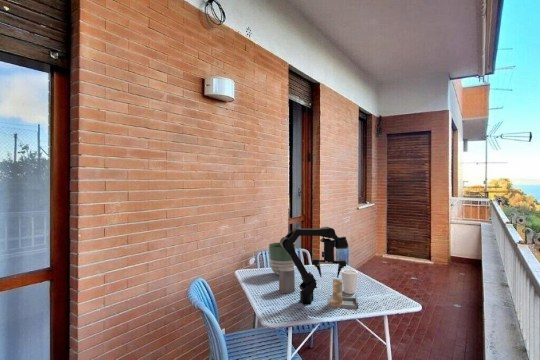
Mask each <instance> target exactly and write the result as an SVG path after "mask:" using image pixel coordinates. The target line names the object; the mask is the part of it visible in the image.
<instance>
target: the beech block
mask: <svg viewBox="0 0 540 360" xmlns="http://www.w3.org/2000/svg"><path fill="white" fill-rule="evenodd" d="M342 297H343V280H342V279H341V278H340V279H339V278H337V279H336V278H333V279H332V299H333V304H336V305H341V304H342Z"/></svg>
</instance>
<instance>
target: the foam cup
mask: <svg viewBox="0 0 540 360" xmlns="http://www.w3.org/2000/svg"><path fill="white" fill-rule="evenodd" d="M358 276H359V272H358V271H357V270H356V269H341V277H342V279H341V280H342V288H343V292H344V293H346V294H351V295H352V294H356V292H357V282H358Z"/></svg>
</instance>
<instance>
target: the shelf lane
mask: <svg viewBox="0 0 540 360" xmlns="http://www.w3.org/2000/svg"><path fill="white" fill-rule="evenodd" d="M326 306H327V307H331V308H344V309H359V299H358V294H355V296H354V297H352V296H342V304H341V305H336V304H333V298H329V297H328V298H327V303H326Z"/></svg>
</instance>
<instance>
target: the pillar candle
mask: <svg viewBox="0 0 540 360" xmlns="http://www.w3.org/2000/svg"><path fill="white" fill-rule="evenodd" d="M295 278H296V277H295V267H294V268H293V267H280V268H279V275H278V291H279V293H282V292H283V294H292V293H294V292H295V291H296V281H295V280H296V279H295Z"/></svg>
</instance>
